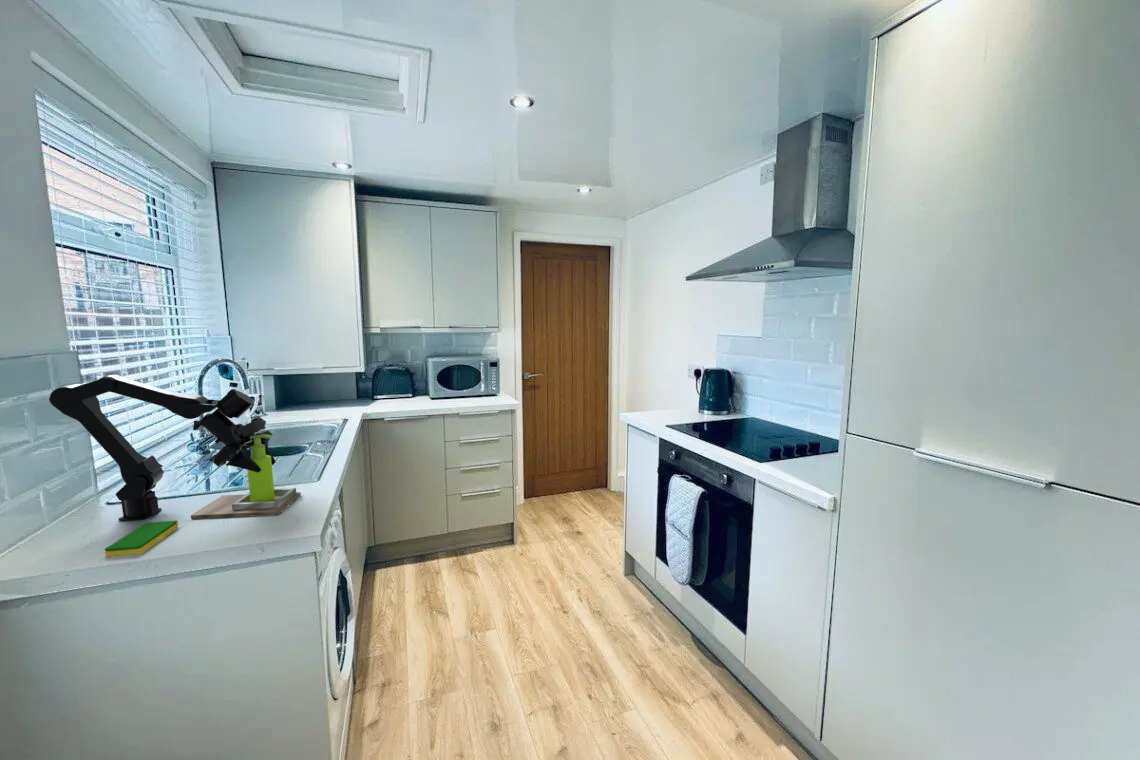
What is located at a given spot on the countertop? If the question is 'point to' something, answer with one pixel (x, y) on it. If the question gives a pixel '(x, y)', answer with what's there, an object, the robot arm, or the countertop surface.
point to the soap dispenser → (261, 472)
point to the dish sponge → (141, 538)
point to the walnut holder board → (247, 505)
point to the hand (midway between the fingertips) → (267, 467)
